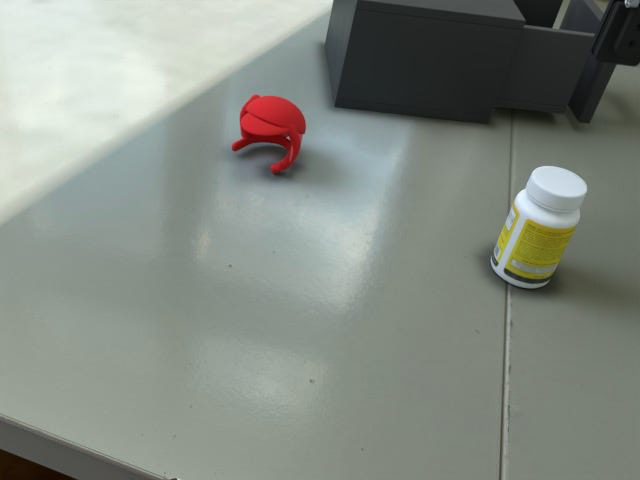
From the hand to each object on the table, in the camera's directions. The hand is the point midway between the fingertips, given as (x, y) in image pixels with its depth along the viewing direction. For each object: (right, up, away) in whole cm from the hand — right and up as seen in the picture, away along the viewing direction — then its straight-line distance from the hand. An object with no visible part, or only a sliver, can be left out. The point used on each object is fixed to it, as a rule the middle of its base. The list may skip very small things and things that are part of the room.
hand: (612, 58), depth 55 cm
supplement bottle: (-4, -15, +7) cm, 17 cm away
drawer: (+5, +5, +29) cm, 30 cm away
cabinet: (-10, +6, +28) cm, 30 cm away
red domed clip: (-24, -5, +14) cm, 28 cm away
